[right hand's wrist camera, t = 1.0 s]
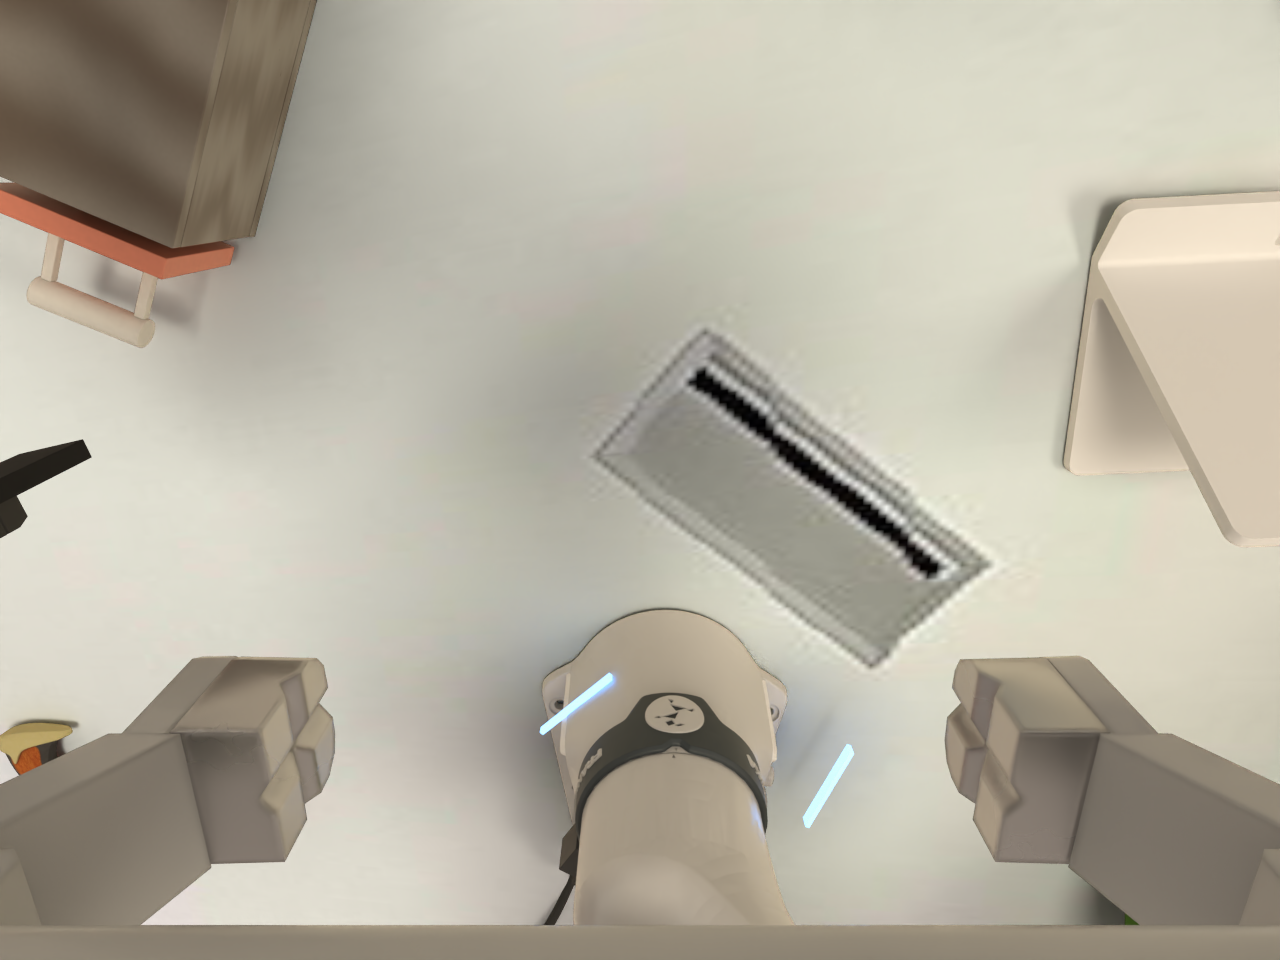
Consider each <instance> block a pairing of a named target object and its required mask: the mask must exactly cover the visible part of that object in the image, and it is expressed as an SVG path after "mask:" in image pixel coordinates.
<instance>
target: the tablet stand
mask: <svg viewBox="0 0 1280 960" xmlns="http://www.w3.org/2000/svg"><path fill="white" fill-rule="evenodd" d="M1064 466H1065V468H1066V469H1067V470H1069V471H1070V472H1072V473H1073V474H1075V475H1079V476H1081V475H1102V474H1123V473H1144V472H1166V471H1187V470H1190V471H1191V473H1192V475H1193V477H1194V479H1195V481H1196V483H1197V485H1198V487H1199V489H1200V491H1201V493H1202V495H1203V497H1204V499H1205V501H1206V503H1207V505H1208V507H1209V509H1210V511H1211V513H1212V515H1213V517H1214V519H1215V521H1216V523H1217V525H1218V526H1219V528H1220V530H1221V532H1222V534H1223V536H1224V537H1225V538H1226V539H1227V540H1228V541H1229V542H1230V543H1232V544H1234V545H1236V546H1239V547H1266V546H1280V191H1271V192H1252V193H1233V194H1214V195H1195V196H1177V197H1158V198H1139V199H1130V200H1127V201H1125V202H1123V203H1122V204H1120V205H1119V206H1118V207H1117V208H1116V210H1115V211H1114V213H1113V215H1112V217H1111V219H1110V221H1109V223H1108V225H1107V227H1106V229H1105V231H1104V233H1103V235H1102V237H1101V239H1100V241H1099V243H1098V245H1097V247H1096V249H1095V251H1094V253H1093V255H1092V260H1091V267H1090V274H1089V281H1088V289H1087V296H1086V303H1085V310H1084V317H1083V325H1082V332H1081V339H1080V346H1079V354H1078V361H1077V368H1076V375H1075V382H1074V390H1073V397H1072V404H1071V411H1070V418H1069V426H1068V433H1067V440H1066V447H1065V454H1064Z"/></svg>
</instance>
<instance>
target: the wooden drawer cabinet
mask: <svg viewBox="0 0 1280 960" xmlns="http://www.w3.org/2000/svg"><path fill="white" fill-rule="evenodd" d="M316 1H317V0H0V177H3V178H5V179H8V180H10V181H12V182H15V183H17V184H20V185H22V186H24V187H27V188H29V189H31V190H34V191H36V192H39V193H41V194H43V195H46V196H48V197H51V198H53V199H55V200H58V201H60V202H63V203H65V204H67V205H70V206H72V207H74V208H77V209H79V210H82V211H84V212H86V213H89V214H91V215H94V216H96V217H98V218H101V219H103V220H105V221H108V222H110V223H113V224H115V225H117V226H120V227H122V228H125V229H127V230H129V231H132V232H134V233H137V234H139V235H141V236H144V237H146V238H148V239H151V240H153V241H156V242H158V243H160V244H163V245H165V246H168V247H170V248H178V247H186V246H192V245H199V244H205V243H212V242H218V241H225V240H231V239H238V238H244V237H254V236H255V233H256V230H257V226H258V222H259V218H260V214H261V211H262V207H263V203H264V199H265V195H266V192H267V188H268V184H269V180H270V176H271V173H272V169H273V165H274V161H275V157H276V154H277V150H278V146H279V142H280V138H281V135H282V131H283V127H284V123H285V119H286V116H287V112H288V108H289V104H290V100H291V97H292V93H293V89H294V85H295V81H296V78H297V74H298V70H299V66H300V62H301V58H302V55H303V51H304V47H305V43H306V39H307V36H308V32H309V28H310V24H311V20H312V17H313V13H314V9H315V5H316Z"/></svg>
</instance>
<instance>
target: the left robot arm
mask: <svg viewBox="0 0 1280 960" xmlns="http://www.w3.org/2000/svg"><path fill="white" fill-rule="evenodd" d="M89 458H91V455H90V453H89V451H88V449H87V447H86V445H85V443H84V441H83V439H82V440H78V441H74V442H70V443H65V444H61V445H57V446H52V447H48V448H44V449H39V450H35V451H31V452H26V453H22V454H19V455H16V456H14V457H12V458H10V459H7V460H5V461H3V462H1V463H0V538H2V537H3V536H5V535H7V534H8V533H11V532H12V531H14V530H16V529H18V528H19V527H21V525H22V524H23V522H24V521H25V519H26V518H27V514H26V512H25V511H24V509H23V507H22V505H21V503H20V501H19V499H18V498H17V495H19V494H21V493H23V492H25V491H27V490H28V489H30V488H32V487H34V486H36V485H38V484H40V483H42V482H44V481H46V480H48V479H50V478H52V477H54V476H56V475H58V474H60V473H62V472H64V471H66V470H68V469H70V468H72V467H74V466H75V465H77V464H79V463H81V462H83V461H85V460H87V459H89Z"/></svg>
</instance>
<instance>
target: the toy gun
mask: <svg viewBox="0 0 1280 960" xmlns="http://www.w3.org/2000/svg"><path fill="white" fill-rule="evenodd" d="M71 733H72V728H71V727H70V726H67V725H60V724H51V723H28V724H21V725H18V726H15V727H13V728H11V729H9V730H7V731H6V732H5V733H3V734H2V735H0V750H1V751H2V752H4V753H6V755H7V757H8V759H9V761H10V763H11V764H12V766H13V767H14V769H15V770H16V772H17V773H18V774H19V775H22V774H24V773H26V772H28V771H30V770H32V769H34V768H36V767H39V766H41V765H43V764H45V763H47V762H49V761H51V760H54V759H56V758H58V757H57V754H56V745H57V740H59V739H61V738H64V737H66V736H68V735H70V734H71Z"/></svg>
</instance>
